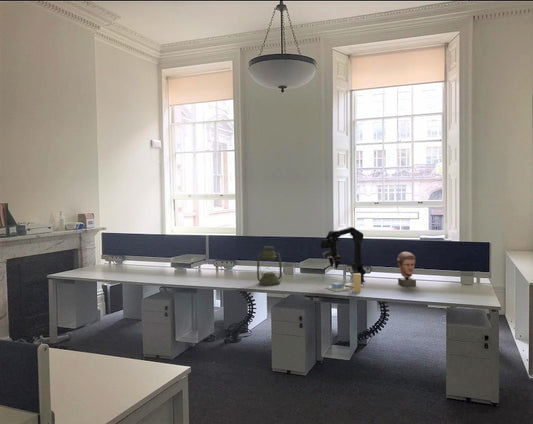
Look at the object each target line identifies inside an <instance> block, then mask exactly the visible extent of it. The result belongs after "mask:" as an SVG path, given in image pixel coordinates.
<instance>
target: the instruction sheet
mask: <svg viewBox="0 0 533 424" xmlns="http://www.w3.org/2000/svg"><path fill="white" fill-rule="evenodd" d="M343 284H344V286H347V287H353V288H354V282H349V283H343ZM362 286H364V285H363V284H361V287H362Z"/></svg>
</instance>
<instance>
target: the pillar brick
mask: <svg viewBox="0 0 533 424" xmlns="http://www.w3.org/2000/svg"><path fill="white" fill-rule="evenodd" d="M352 278H353V280H352V281H353V283H354V287H353V292H354V293H355V292H356V293H359V292H362V286H361V285H362V282H361V273H353V277H352Z"/></svg>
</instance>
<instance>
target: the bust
mask: <svg viewBox="0 0 533 424" xmlns="http://www.w3.org/2000/svg"><path fill="white" fill-rule="evenodd" d="M396 262H397V266H398V269H400V275H401V276H402V277H398V278H397V284H398V285H400V286H402V287H416V286H417V280H416V278H412V277H413V272H414V269H415V266H416V256H415V255H414V254H413V253H412V252H409V251H401V252H400V253H399V254H398V255H397V259H396Z"/></svg>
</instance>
